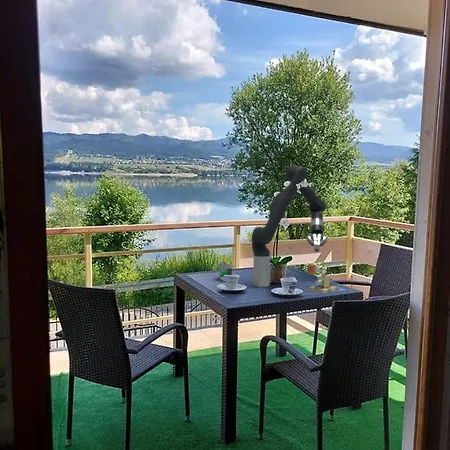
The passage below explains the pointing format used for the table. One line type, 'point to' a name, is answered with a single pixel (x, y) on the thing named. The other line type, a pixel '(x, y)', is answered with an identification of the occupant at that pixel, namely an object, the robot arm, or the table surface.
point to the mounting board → (324, 289)
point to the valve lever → (313, 270)
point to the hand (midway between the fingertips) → (316, 250)
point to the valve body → (323, 282)
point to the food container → (225, 269)
